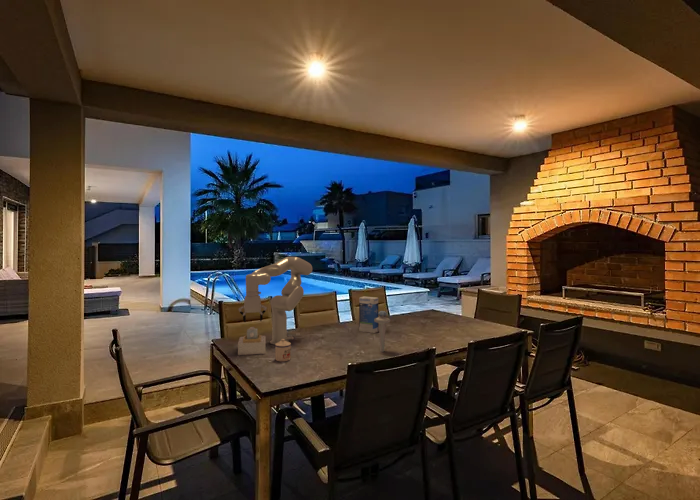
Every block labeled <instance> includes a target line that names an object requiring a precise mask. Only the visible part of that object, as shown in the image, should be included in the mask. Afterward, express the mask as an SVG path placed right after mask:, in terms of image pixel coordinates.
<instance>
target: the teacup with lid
mask: <svg viewBox="0 0 700 500" xmlns="http://www.w3.org/2000/svg"><path fill="white" fill-rule="evenodd" d="M274 347H275V349H274V350H275V352H274V353H275V361H277V362H280V363H281V362H288V361H290V360H291V351H292V343H291V342H290V341H289V342H287V341H285V339H281V341H280V342H278V343H276V344H275V345H274Z"/></svg>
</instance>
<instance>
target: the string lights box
mask: <svg viewBox="0 0 700 500" xmlns="http://www.w3.org/2000/svg"><path fill="white" fill-rule="evenodd" d="M358 300H359V301H358V303H359V304H358V307H359V309H358V310H359V311H358V313H359V315H358V318H359V320H358V321H359V323H358V324H359V327H358V328H359V330H358V331H359V332H364V333H371V334H375V333H378V332H379V323H377V322H375V321H374V319H375V318H378V317H379V315H378V313H379V297H375V296H364V295H363V296H360V297H359V298H358Z"/></svg>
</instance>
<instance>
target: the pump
mask: <svg viewBox="0 0 700 500" xmlns="http://www.w3.org/2000/svg"><path fill="white" fill-rule="evenodd" d="M246 335H247V339H257V335H258V328H255V326H251V327H249V328H247V329H246Z"/></svg>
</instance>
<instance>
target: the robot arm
mask: <svg viewBox="0 0 700 500" xmlns="http://www.w3.org/2000/svg"><path fill="white" fill-rule="evenodd" d="M287 271H290V279H289V280H288V281H287V282H286V284H285V285H284V286H283V287H282V289H281V292H280V293H281V295H277V294H276V295H274V296H273V297H271V299H270V307H271V317H272V319H271V320H272V321H271V322H272V323H271V324H272V325H271V328H272V329H271V334H272V336H271V338H272V339H271V340H270V341H269V343H270V344H271V345H274V346H275V344H276V343H278V342H280V341H281V339H285V341H287V342H290V340H294V336H292V335H290V336H289V335H288V332H287V331H288V330H287V329H288V327H287V326H288V318H287V317H288V316H287V312H291V311H293V310H294V309H295V308H296V307H297V305H298V304H299V303H300V302H301V300H302V299H303V296H304V294H305V293H304V292H305V290H304V288H303V286H302V277H301V276H302V275H303V276H309V275H311V274H312V272H313V266H312V264H311V263H310V262H308V261H306V260H305V259H302V258H301V257H297V256H287V257H284V258H282V259H280V260H278V261H276V262H274V263H273V264H269V265H266V266H264V267H263V266H262V267H261V268H258V269H256V270H254V271H253V272H251V273H249V274H246V276H245V296H244V301H243V302H244V303H243V305H242V306H240V307H238V309H237V311H238V312H239V314H241V316H242V320H243V323H246V322H247V321H246V320H247V319H246V318H247V317H246V314H248V313H249V314H250V313H251V314H253V313H259V315H260V316H259V318H260V319H259V321H260V322H262V320H264V319H263V317H264V316H263V315H264V314H265V313H266V311H267V309H268V307H267V306H265V305H263V304H262V301H261V299H262V298H261V294H262V292H261V291H260V290H259V285H260V286H266V285H268V284H270V282H271V278H272V277H279V276H281V275H282V274H284V273H286V272H287ZM262 309H263V310H262ZM243 311H244V312H243Z"/></svg>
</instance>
